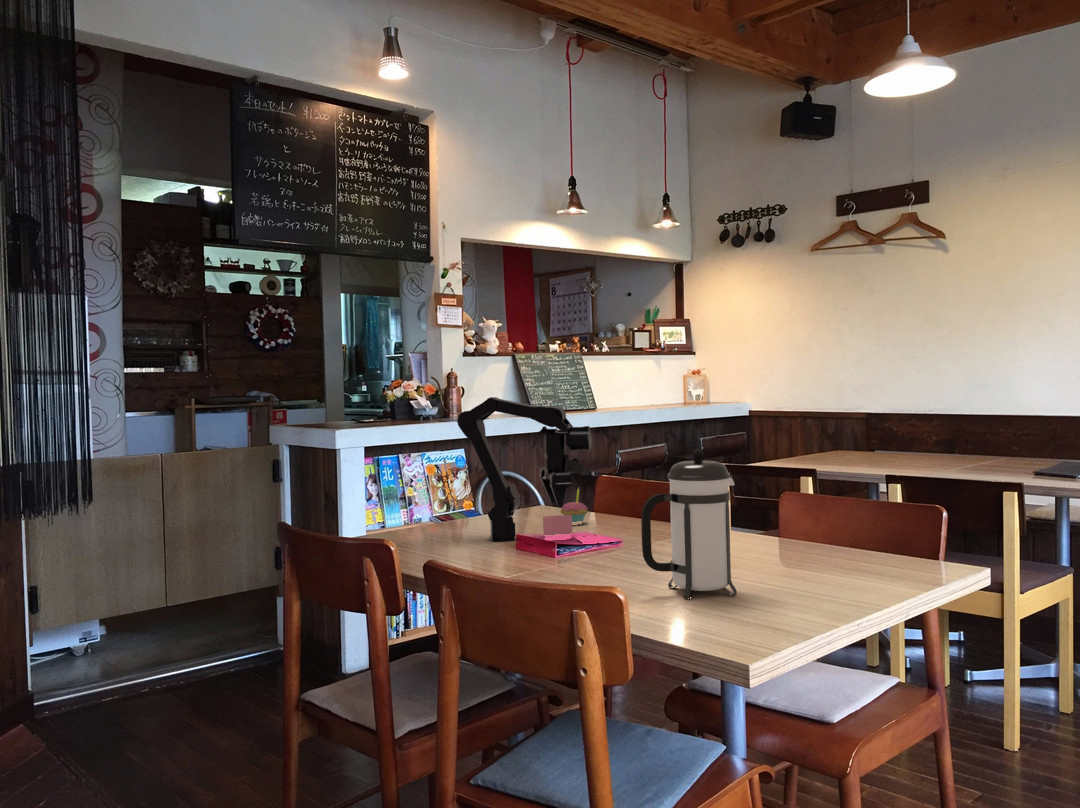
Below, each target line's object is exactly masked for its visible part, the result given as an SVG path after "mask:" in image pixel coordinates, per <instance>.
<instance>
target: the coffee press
mask: <svg viewBox="0 0 1080 808" xmlns="http://www.w3.org/2000/svg"><path fill="white" fill-rule="evenodd" d="M704 454H705V453H704V451H703V450H702V449H701V448H695V449H693V452H692V456H693V458H694V459H693V460H685V461H680V462H677V463H675V464H673V465H672V466H671V468H670V471H669V473H667V479H668V481H669V491H668V493H657V494H654V495H652V496H650V497H649V498H647V500H646V501H645V503H644V505H643V507H642V511H641V516H640V517H641V518H640V519H641V521H640V522H641V524H640V525H641V548H642V551H641V552H642V556H643V557H642V558H643V560H644V562H645V563H646V565H647V566H648V567H649V568H650V569H652V570H653V571H656V572H671V573H672V577H671V579H670V580H669V582H668V584H667V585H668V588H669V589H670V588H671V587H674V589H676V588H677V587H678V588H681V589H684V591H683V599H684V598H689V599H688V600H690V597H692V598H693V597H694V594H695V593H696V592H711V591H719V590H721V591H724V592H725V593H726V594H727V596H729V595H730V594H733V596H732V597H734V596H735V595H737V592H738V590H737V588H736V587H735V586H734V583H733V582H732V574H731V571H732V568H731V566H732V565H731V538H730V537H731V536H730V535H731V533H730V532H731V531H730V527H731V526H730V501H731V494H730V493H731V491H730V490H729V486H730V487H731V486H735V481H734V479H733V478H732V477H731V473H730V472H728V469H727V467H726V465H725V464H723V463H721V462H719V461H715V460H714V461H713V460H703V459H702V458H703V457H704ZM665 502H669V505H670V539H671V542H670V543H671V560H670V562H657V561H656V560H655V559H654V557H653V553H652V527H651V525H652V524H651V518H652V516H651V515H652V511H653V508H655V507H656V506H657V505H658V504H660V503H665ZM672 583H674V585H675V586H673V584H672ZM728 586H729V587H730V588H731V590H732V592H733V593H732V592H731V591H730V590H729V589H728V588H727V587H728Z"/></svg>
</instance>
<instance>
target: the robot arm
mask: <svg viewBox="0 0 1080 808" xmlns="http://www.w3.org/2000/svg"><path fill="white" fill-rule="evenodd" d="M495 412H496V413H503V414H507V415H512V416H516V417H521V418H526V419H530V420H533V421H536V422H538V423H539V424H542V425H544V426H542V428H540V430H539V431H538V432H537V435H538V436H544V447H545V448H544V449H545V451H544V454H543V458H544V459H545V467H544V466H543V467H542V466H541V468H540V469H539V470H538V473H539V474H538V477H539V478H540V481H541V483H542V485H543V487H544V489H545V492H546V494H547V496H548V499H549V501H550V503H551V504H555V503H556V504H557V507H558V508H560V509H561V508H562V506H563V505H564V501H565V497H566V493H567V490H568V488H569V487H571V486H572V485H573V484H574V483H575V478H574V477H575V476H574V474H573V473H575V474H578V475H579V476H583V475H584V474H585V473H584V472H585V469H586V467H587V465H586V464H585V463H584V464H583V463H581V462H579V459H578V458H576V457H571V458H570V459H569V455H568V454H567V453H566V447H567V448H569V450H570V451H591V450H592V448H593V446H592V445H593V437H592V432H591V427H590V425H586V426H573V425H572V424H571V422H570V420H568V418H567V413H566V411H565V410H564V408H563V407H560V406H556V405H554V406H553V405H532V404H527V403H523V402H518V401H512V400H506V399H501V398H498V396H497V397H495V396H494V397H493V396H492V397H491V396H490V397H488V398H486V400H484V401H483V402H481V403H479V404H478V405H477V406H475V407H473V408H472V409H470V410H465V411H461V413H459V415H458V417H457V419H456V423H457V426H458V428H459V429H460V430H461V432H462V433H463V435H464V436H465V437H466V438H467V439H468V440H469V442H471V445H472V446H473V449H474V450H475V452H476V455H477V457H478V460H479V461H480V464H481V466H482V468H483V470H484V472H485V474H486V477H487V479H488V482H489V484H490V486H491V490H492V493H491V494H492V499H493V503H494V506H493V507H492V508H491V509H490V510H489V511H488V512H487V515H488V518H489V523H490V536H489V539H490V541H492V542H504V541H505V542H507V541H515V540H516V538H515V537H516V536H517V535H516V523H515V522H514V517H513V516H514V513H515V511H516V510H517V509H518V508H519V507H520V504H521V494H520V493H519V491H518V489H517V485H516V483H512V484H510V483H509V482H508V481H507V479H506V478H505V476H504V474H503V472H502V469H501V467H500V465H499V462H498V461H497V458H496V456H495V453H494V452H493V449H492V448H491V445H490V443H489V441H488V439H487V436H486V425H485V422H484V421H486V420H487V418H489V417H491V416H492V415H494V413H495ZM546 426H547V427H549V428H547V427H546ZM564 431H565V432H564ZM571 472H572V473H571Z"/></svg>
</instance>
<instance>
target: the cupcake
mask: <svg viewBox="0 0 1080 808" xmlns="http://www.w3.org/2000/svg"><path fill="white" fill-rule="evenodd" d="M579 496H580V487H578V489H577V490H576V497H575V498H576V499H575V500H576V501H569V502H567V503H565V504H563V506H562V507H560V514H562V515H572V522H577V521H583V522H584V520H585V517H586V515H587V514H588V510H589V508H588V507H587V505H586V504H584V503H583V502H580V501H579V498H580V497H579Z"/></svg>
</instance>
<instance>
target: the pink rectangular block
mask: <svg viewBox="0 0 1080 808" xmlns="http://www.w3.org/2000/svg"><path fill="white" fill-rule="evenodd" d="M542 524H543V525H542V526H543V527H542V528H543V529H542V530H543V536H544V535H555V534H570V533H572V534H573V525H572V515H564V514H562V515H561V514H559V515H546V516H545V515H544V516H542Z"/></svg>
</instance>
